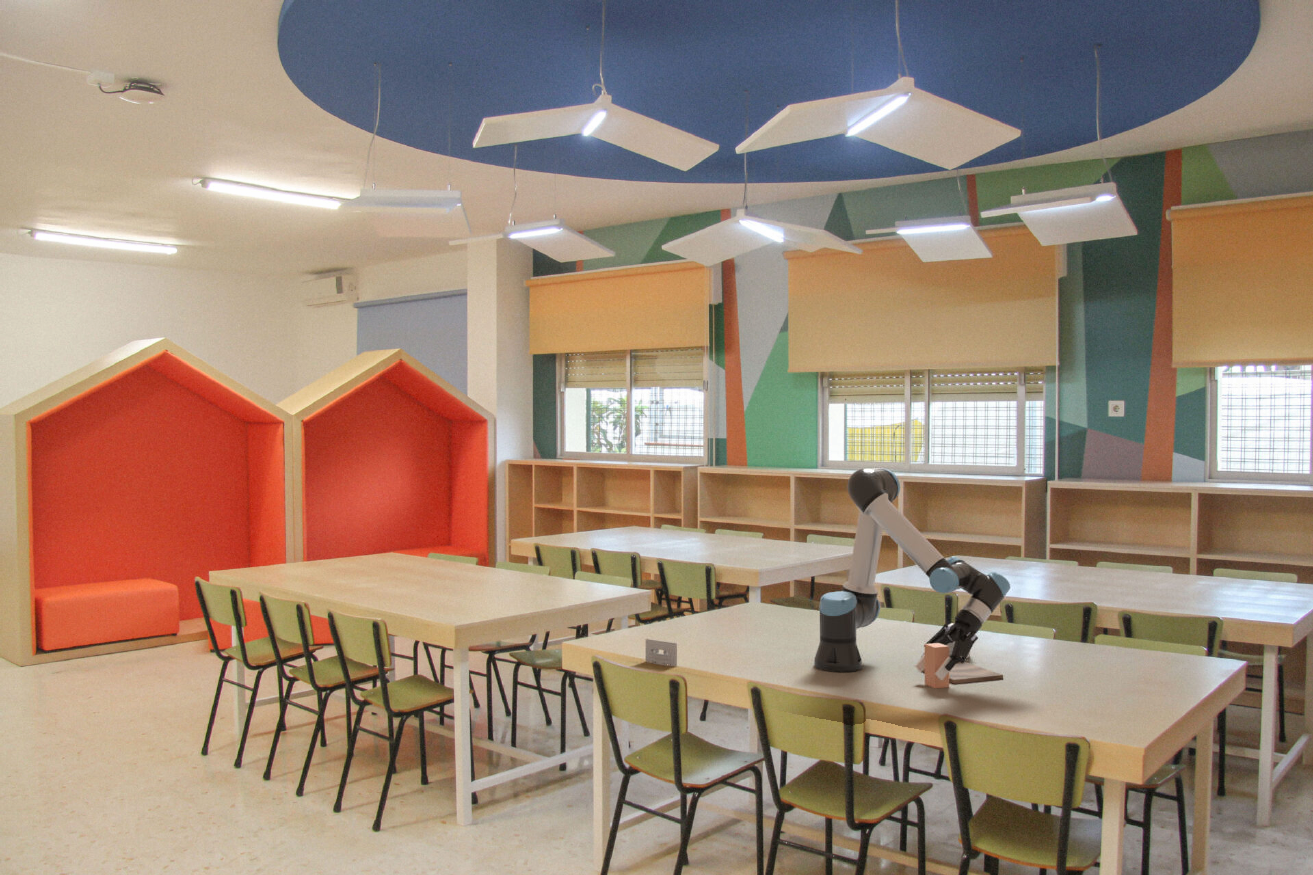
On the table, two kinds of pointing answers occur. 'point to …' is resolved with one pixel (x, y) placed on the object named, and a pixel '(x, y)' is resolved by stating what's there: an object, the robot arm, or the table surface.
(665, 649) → the cassette
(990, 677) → the walnut board
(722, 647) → the table surface
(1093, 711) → the table surface
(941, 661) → the terracotta block
